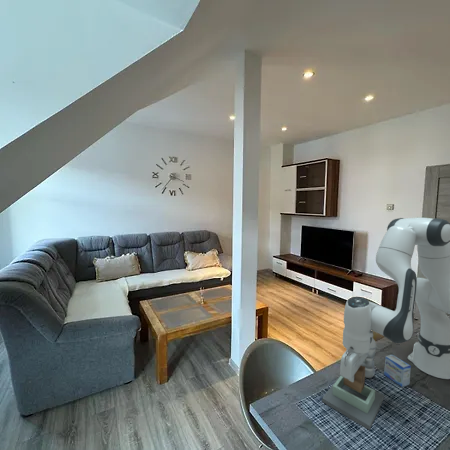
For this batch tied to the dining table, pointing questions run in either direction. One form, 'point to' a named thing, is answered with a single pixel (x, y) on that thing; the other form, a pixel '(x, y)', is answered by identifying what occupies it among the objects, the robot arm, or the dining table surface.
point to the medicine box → (397, 370)
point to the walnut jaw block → (357, 380)
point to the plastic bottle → (370, 359)
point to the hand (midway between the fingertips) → (354, 376)
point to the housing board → (354, 402)
